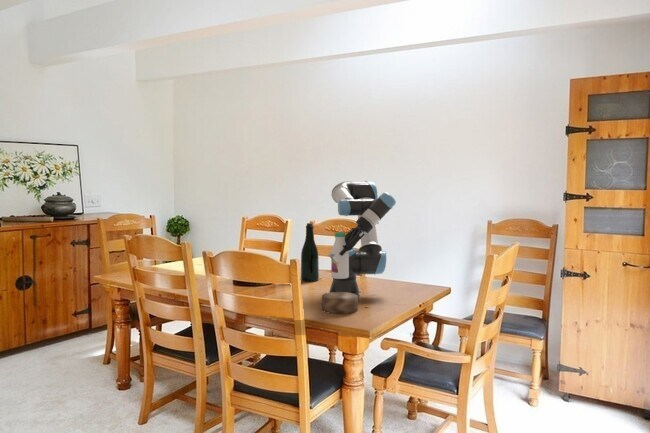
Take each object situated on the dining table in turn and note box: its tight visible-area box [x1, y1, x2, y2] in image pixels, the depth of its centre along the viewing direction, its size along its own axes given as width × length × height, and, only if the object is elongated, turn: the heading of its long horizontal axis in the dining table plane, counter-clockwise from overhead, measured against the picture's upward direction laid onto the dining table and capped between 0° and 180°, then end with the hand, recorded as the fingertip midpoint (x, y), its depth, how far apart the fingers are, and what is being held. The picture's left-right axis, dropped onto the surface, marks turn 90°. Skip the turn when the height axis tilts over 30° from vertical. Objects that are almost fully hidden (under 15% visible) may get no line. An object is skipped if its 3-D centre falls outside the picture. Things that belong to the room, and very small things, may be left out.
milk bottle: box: [330, 231, 349, 279], centre depth 220 cm, size 8×8×20 cm
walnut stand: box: [321, 292, 359, 315], centre depth 222 cm, size 16×16×6 cm
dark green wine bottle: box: [300, 222, 320, 282], centre depth 285 cm, size 10×10×33 cm
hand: (332, 258), depth 219 cm, fingers closed on milk bottle, 7 cm apart
